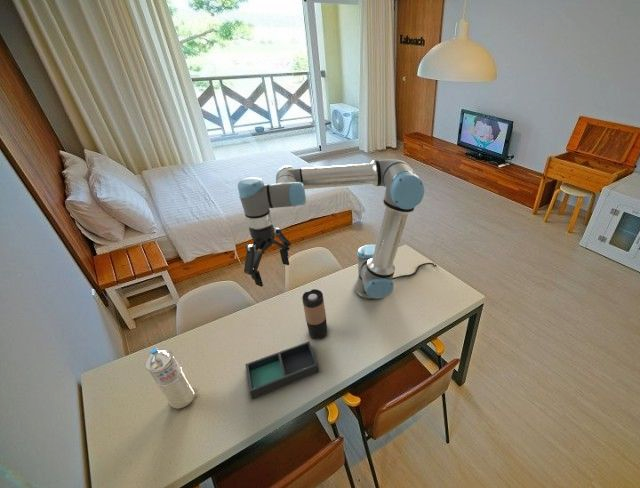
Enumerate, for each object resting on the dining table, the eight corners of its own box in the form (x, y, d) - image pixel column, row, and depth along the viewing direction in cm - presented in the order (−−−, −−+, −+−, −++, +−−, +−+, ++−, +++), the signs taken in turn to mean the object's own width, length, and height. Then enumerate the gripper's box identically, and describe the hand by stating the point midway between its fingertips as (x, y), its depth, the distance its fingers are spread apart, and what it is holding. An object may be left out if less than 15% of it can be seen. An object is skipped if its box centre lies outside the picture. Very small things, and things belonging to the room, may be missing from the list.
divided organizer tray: (310, 348, 122) (309, 341, 120) (319, 372, 114) (317, 364, 112) (248, 371, 113) (245, 364, 111) (252, 399, 105) (249, 391, 103)
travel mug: (323, 341, 125) (317, 304, 114) (305, 338, 126) (298, 301, 115) (330, 326, 131) (326, 290, 120) (313, 323, 133) (307, 287, 121)
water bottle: (169, 413, 100) (136, 364, 86) (173, 394, 105) (141, 344, 92) (194, 405, 103) (165, 356, 89) (196, 386, 108) (169, 337, 94)
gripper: (278, 206, 116) (288, 253, 128) (220, 240, 97) (238, 291, 109) (294, 211, 114) (303, 258, 126) (238, 246, 95) (255, 298, 107)
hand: (273, 274), depth 117 cm, fingers open, 13 cm apart
